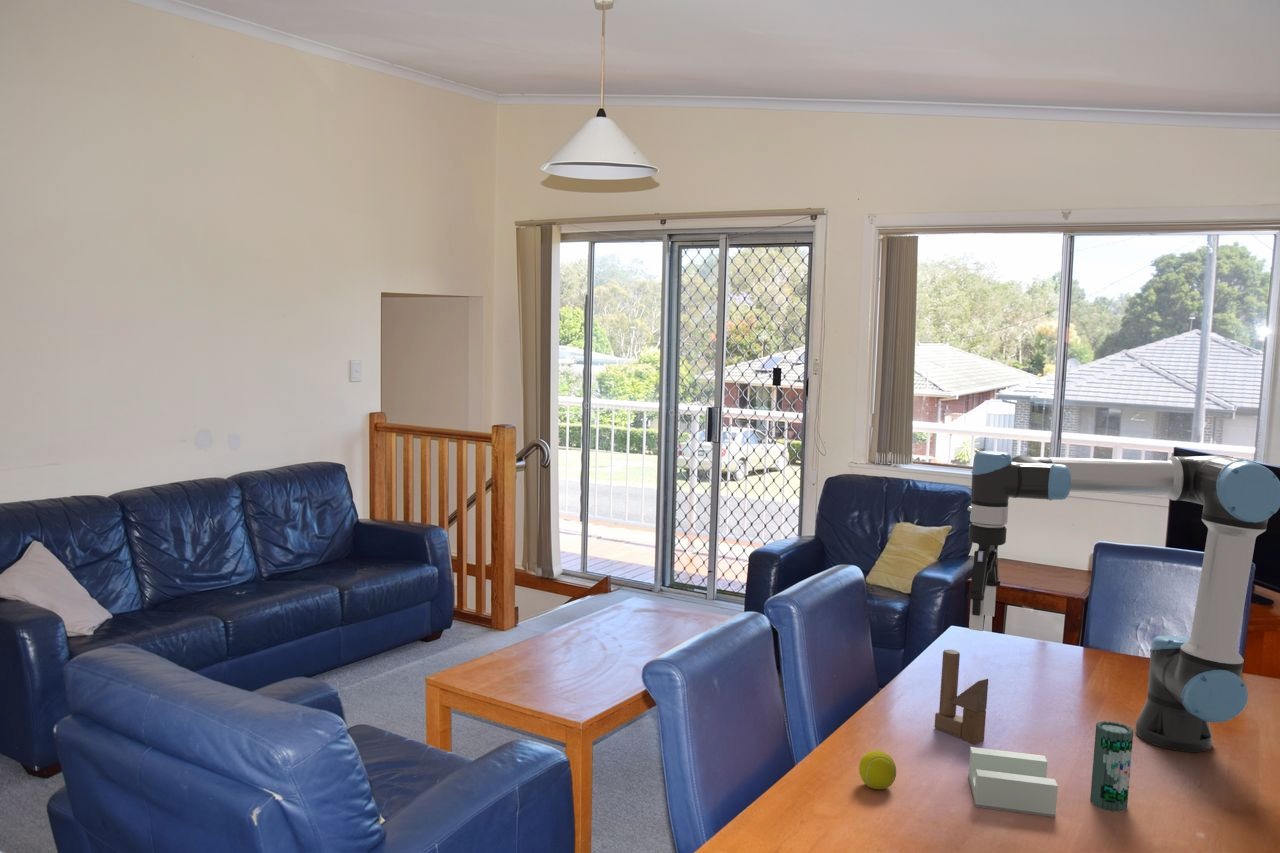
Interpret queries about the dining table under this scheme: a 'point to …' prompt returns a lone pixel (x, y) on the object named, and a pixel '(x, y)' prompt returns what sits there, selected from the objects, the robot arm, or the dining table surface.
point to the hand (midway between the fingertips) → (981, 622)
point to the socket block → (1012, 782)
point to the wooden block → (961, 703)
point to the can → (1111, 766)
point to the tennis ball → (877, 770)
